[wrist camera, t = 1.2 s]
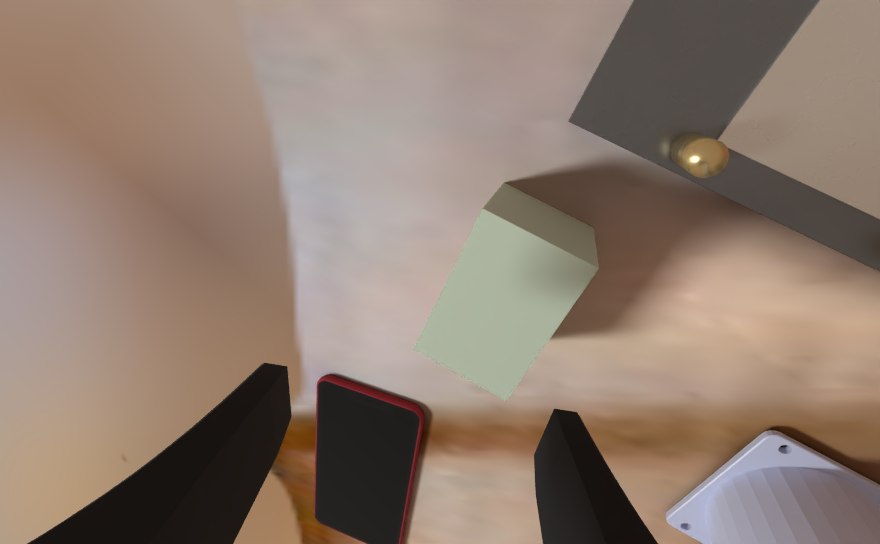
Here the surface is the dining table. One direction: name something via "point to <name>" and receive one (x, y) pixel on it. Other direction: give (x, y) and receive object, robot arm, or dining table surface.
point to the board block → (509, 290)
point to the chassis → (754, 107)
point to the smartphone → (364, 460)
